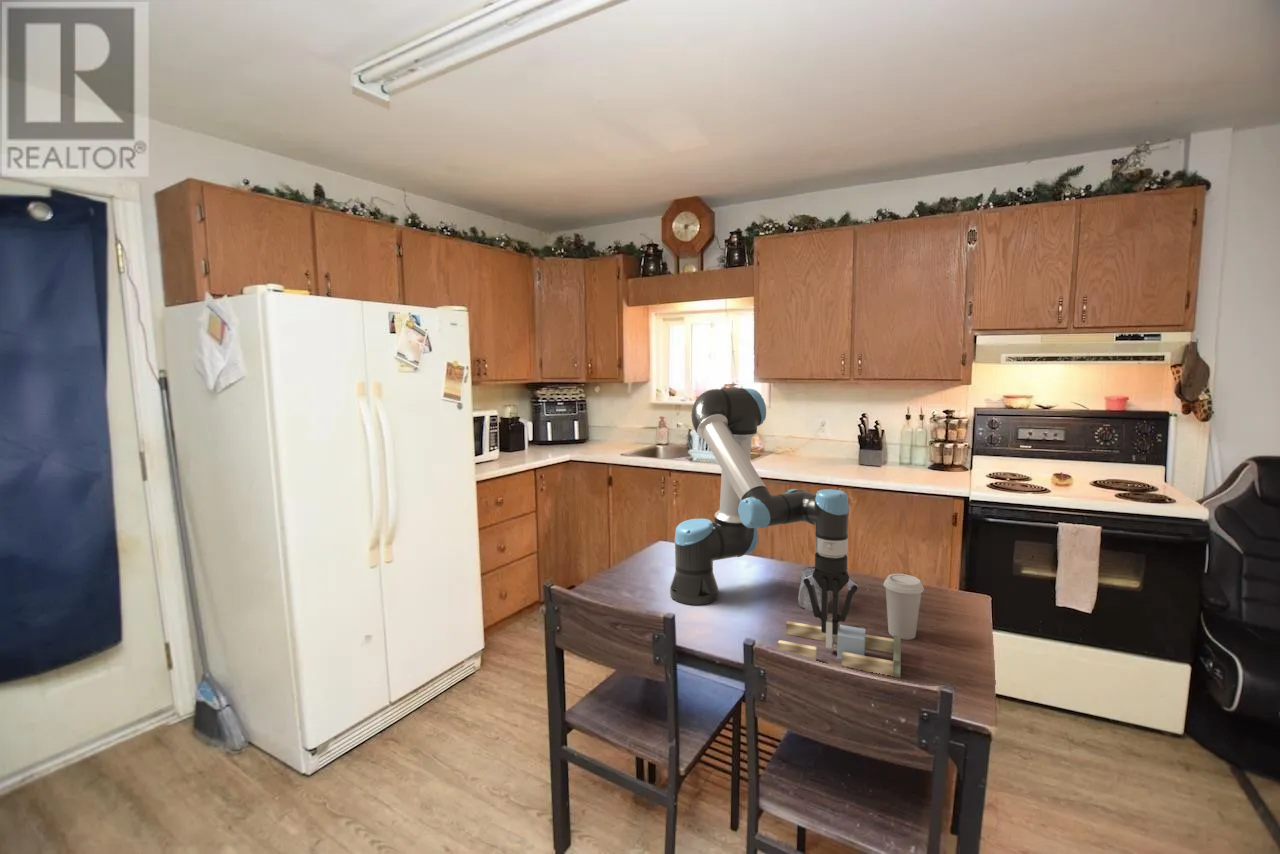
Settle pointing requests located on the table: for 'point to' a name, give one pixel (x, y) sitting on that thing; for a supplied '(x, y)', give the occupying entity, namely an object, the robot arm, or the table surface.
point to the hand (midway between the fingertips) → (829, 645)
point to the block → (850, 641)
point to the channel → (847, 658)
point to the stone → (804, 594)
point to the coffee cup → (903, 604)
